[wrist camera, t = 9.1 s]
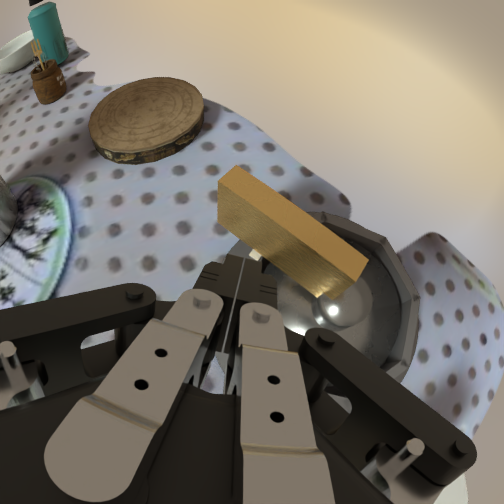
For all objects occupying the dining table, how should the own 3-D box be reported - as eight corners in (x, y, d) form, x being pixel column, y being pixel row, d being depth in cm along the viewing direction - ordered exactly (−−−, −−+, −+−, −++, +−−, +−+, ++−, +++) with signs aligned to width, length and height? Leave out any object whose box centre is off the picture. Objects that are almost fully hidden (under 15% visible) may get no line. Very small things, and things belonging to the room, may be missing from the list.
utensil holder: (41, 110, 37) (20, 58, 26) (38, 96, 38) (19, 49, 27) (70, 93, 39) (53, 39, 28) (64, 81, 40) (49, 32, 29)
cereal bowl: (33, 46, 49) (28, 27, 43) (60, 46, 47) (54, 25, 41) (-12, 81, 42) (-20, 63, 36) (8, 86, 40) (-2, 64, 34)
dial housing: (174, 259, 29) (167, 241, 25) (351, 193, 34) (364, 173, 31) (272, 466, 21) (281, 479, 18) (441, 351, 27) (464, 346, 23)
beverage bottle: (74, 62, 43) (56, -14, 25) (47, 77, 41) (24, 1, 23) (67, 55, 45) (50, -15, 27) (42, 69, 43) (21, 0, 24)
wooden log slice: (226, 130, 37) (227, 113, 34) (118, 187, 32) (111, 171, 29) (170, 81, 41) (169, 66, 38) (81, 123, 36) (76, 109, 33)
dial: (409, 297, 28) (465, 265, 20) (343, 413, 23) (398, 424, 14) (266, 189, 32) (282, 126, 23) (174, 285, 26) (155, 239, 18)
